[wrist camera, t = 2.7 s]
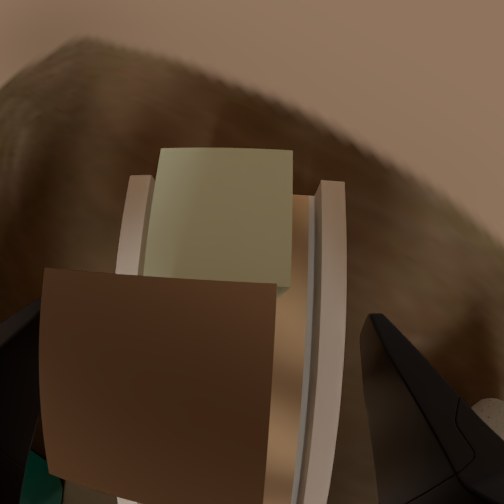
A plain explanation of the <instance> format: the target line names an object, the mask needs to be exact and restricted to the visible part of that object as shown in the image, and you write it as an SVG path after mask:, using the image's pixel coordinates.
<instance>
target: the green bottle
mask: <svg viewBox="0 0 504 504" xmlns="http://www.w3.org/2000/svg"><path fill="white" fill-rule="evenodd" d="M25 469H26V470H25V475H24V480H23V485H22V491H21V497H20V503H19V504H61V501H62V492H63V487H62V484H61V480H60V478H59V477H57V476H54V475H52V474H49V470H48V464H47V461H46V460H44V459H43V458H42V457H40V456H39V455H37V454H36V453H35V452H33V451H32V450H30V452H29V456H28V461H27V465H26V468H25Z"/></svg>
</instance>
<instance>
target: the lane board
mask: <svg viewBox="0 0 504 504" xmlns="http://www.w3.org/2000/svg"><path fill="white" fill-rule="evenodd" d="M154 186H155V180H154V178H153V177H152V176H151V175H130V179H129V184H128V189H127V195H126V201H125V207H124V213H123V219H122V226H121V233H120V240H119V247H118V256H117V264H116V273H115V274H125V275H139V276H143V272H144V262H145V252H146V244H147V235H148V227H149V220H150V213H151V206H152V199H153V192H154ZM302 196H307V195H302ZM346 292H347V236H346V202H345V182H340V181H328V180H321V182H320V184H319V186H318V189H317V191H316V193H315V195H314V196H309V229H308V284H307V313H306V335H305V354H304V370H303V385H302V398H301V411H300V423H299V434H298V444H297V454H296V464H295V473H294V482H293V490H292V498H291V504H327V498H328V492H329V487H330V480H331V474H332V467H333V460H334V453H335V446H336V438H337V429H338V420H339V411H340V401H341V389H342V377H343V363H344V347H345V326H346ZM117 501H118V504H142V503H138V502H134V501H130V500H126V499H122V498H119V497H117Z"/></svg>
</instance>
